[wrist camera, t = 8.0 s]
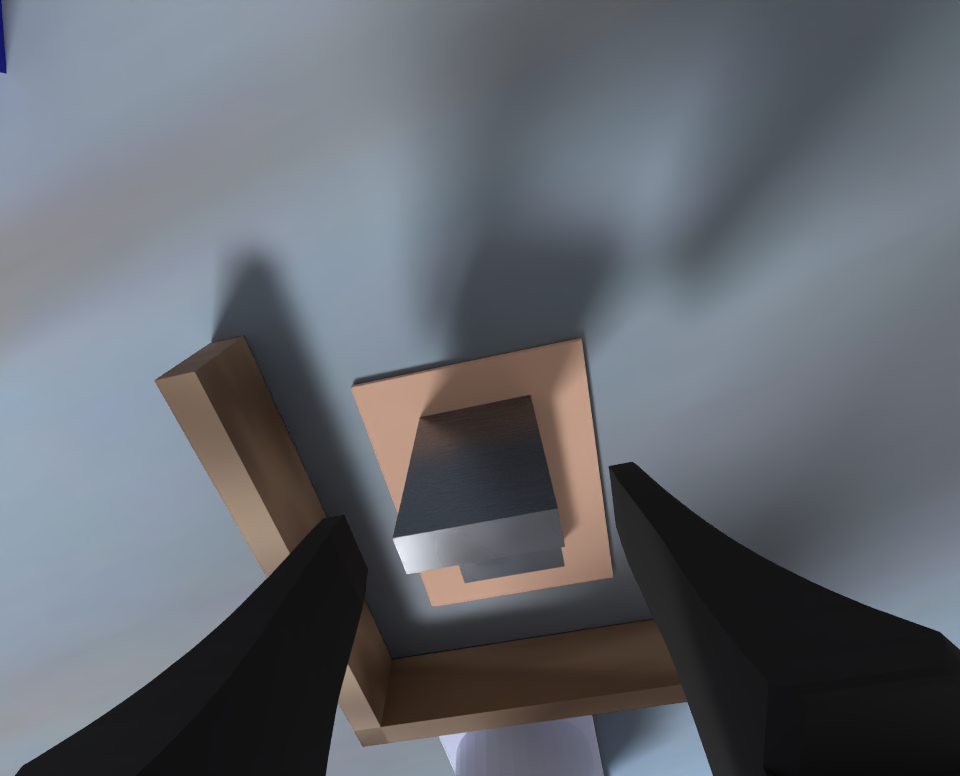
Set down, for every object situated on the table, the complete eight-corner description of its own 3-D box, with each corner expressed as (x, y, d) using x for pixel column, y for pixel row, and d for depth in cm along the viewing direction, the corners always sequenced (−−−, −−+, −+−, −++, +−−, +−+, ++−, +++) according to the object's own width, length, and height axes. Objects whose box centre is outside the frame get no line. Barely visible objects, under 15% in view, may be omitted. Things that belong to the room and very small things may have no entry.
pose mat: (611, 573, 20) (613, 577, 20) (433, 602, 21) (432, 606, 21) (580, 338, 16) (581, 340, 15) (352, 385, 16) (350, 387, 16)
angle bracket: (419, 417, 17) (392, 538, 11) (530, 394, 16) (558, 508, 11) (465, 560, 20) (461, 711, 14) (560, 543, 19) (593, 692, 14)
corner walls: (683, 632, 22) (712, 698, 19) (376, 678, 23) (362, 746, 20) (664, 243, 14) (708, 260, 12) (210, 343, 16) (154, 380, 13)
